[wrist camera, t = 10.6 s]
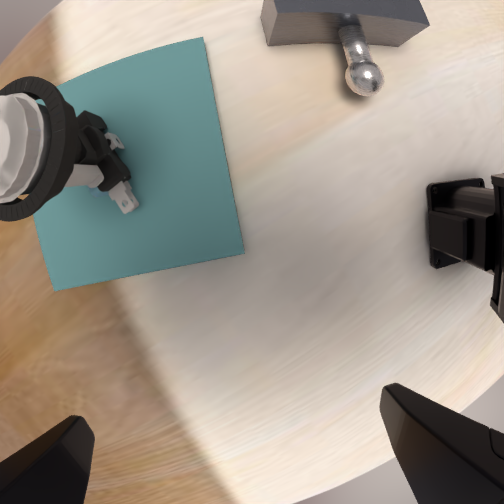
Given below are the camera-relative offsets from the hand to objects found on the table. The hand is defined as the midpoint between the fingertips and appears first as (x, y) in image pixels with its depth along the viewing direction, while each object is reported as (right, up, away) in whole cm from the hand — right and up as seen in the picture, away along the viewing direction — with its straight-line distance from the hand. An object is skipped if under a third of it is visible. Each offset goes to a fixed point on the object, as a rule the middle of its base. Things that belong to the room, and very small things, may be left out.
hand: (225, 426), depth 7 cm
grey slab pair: (+6, +23, +8) cm, 25 cm away
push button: (-8, +10, +9) cm, 16 cm away
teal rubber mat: (-8, +10, +10) cm, 16 cm away
